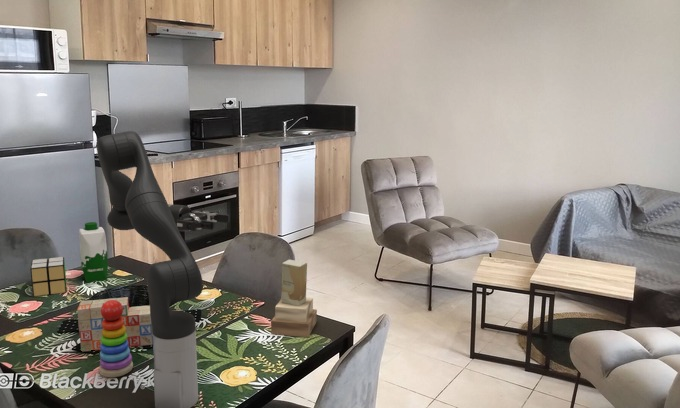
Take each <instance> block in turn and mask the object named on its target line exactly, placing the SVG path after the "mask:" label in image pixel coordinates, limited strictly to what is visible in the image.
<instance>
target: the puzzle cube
mask: <svg viewBox="0 0 680 408" xmlns="http://www.w3.org/2000/svg"><path fill="white" fill-rule="evenodd" d="M30 264H31V265H30V270H29V271H30V277H31V278H30V279H31V280H30V281H31V288H32V296H33V297H35V298H36V297H42V296H49V295H59V294H66V293H67V274H66V263H65V257H64V256H57V257H50V258H39V259H38V258H37V259H32V260H31V263H30Z"/></svg>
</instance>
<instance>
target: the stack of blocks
mask: <svg viewBox="0 0 680 408" xmlns="http://www.w3.org/2000/svg"><path fill="white" fill-rule="evenodd" d="M109 300H116V301H118V302H120V303H121V304H122V306H123V313H122V315H121V318H122V319H123V320H124V324H123V325H124V326H125V327H126V332H125V333H126V334H127V340H128V343H129V345H128V347H129V348H132V347H139V346H141V347H142V346H151V345H152V346H153V335H152V323H151V316H150V304H149V305H139V306H138V305H137V306H131V307H130V304H129V296H125V297H124V296H123V297H117V298H116V297H114V298H113V297H112V298H104V299H103V298H101V299H94V300H93V299H92V300H81V301H80V303H79V305H78V307H77V309H76V310H77V322H78V325H77V326H78V331H79V340H80V341H79V343H80V351H82V352H91V350H95V351H101V349H100V345H101V343H102V342H101V337H102V336H103V335H102V329H103V327H102V322H103V320H104V318H103V317H102V315H101V307H102V305H103V304H104V303H105V302H107V301H109Z"/></svg>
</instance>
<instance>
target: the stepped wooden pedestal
mask: <svg viewBox="0 0 680 408" xmlns="http://www.w3.org/2000/svg"><path fill="white" fill-rule="evenodd" d="M313 304H314V298H313V297H306V302H305V303H303V304H302V305H300V306H296V305H291V304H287V303H283V302H281V299H280V300H279V301H278V303H276V305H275V307H274V309H275V310H274V311H275V314H274V316H273V318H272V319H271V320H270V335H278V336H279V335H280V336H287V337H299V338H309V337H310V335H311V333H312V331H313V330H314V327H315V325H316V324H317V321H318V319H317V316H318V314H317V312H318V310H317V309H314V305H313Z"/></svg>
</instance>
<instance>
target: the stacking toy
mask: <svg viewBox="0 0 680 408" xmlns="http://www.w3.org/2000/svg"><path fill="white" fill-rule="evenodd" d="M122 313H123V306H122V304H121V303H120V302H118V301H116V300H109V301H107V302H105V303H104V304H103V305H102V307H101V315H102V317H103V318H104V320H103V322H102V327H103V329H102V335H103V336H102V337H101V342H102V343H101V345H100V349H101V350H99V358H100V359H99V367H98V372H99V373H100V375H101V376H103V377H105V378H118V377H122V376H125V375H126V374H128V373H130V372H131V371H132V370H133V368H134V362H133V355H132V354H131V350H130V347H128V345H129V343H128V340H127V334H126V333H125V332H126V327H125V326H124V325H123V324H124V320H123V319H122V318H121V315H122Z"/></svg>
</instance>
